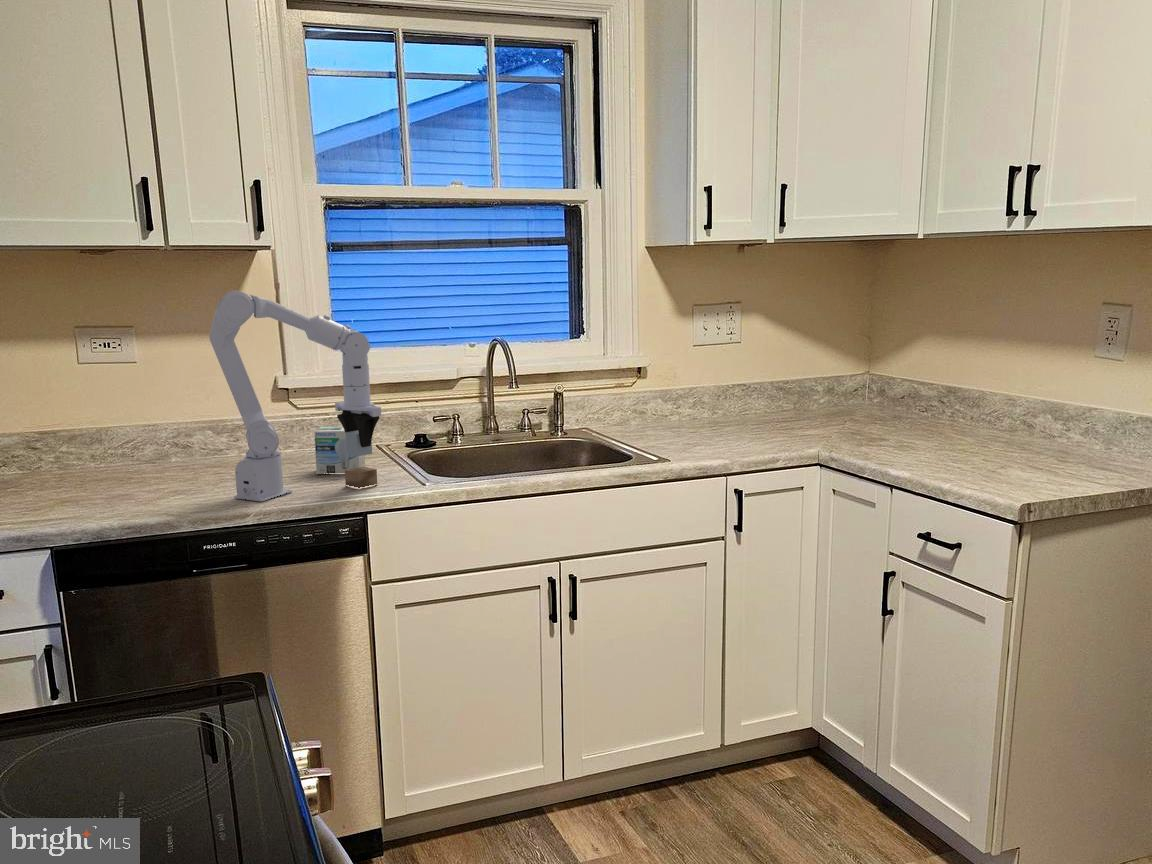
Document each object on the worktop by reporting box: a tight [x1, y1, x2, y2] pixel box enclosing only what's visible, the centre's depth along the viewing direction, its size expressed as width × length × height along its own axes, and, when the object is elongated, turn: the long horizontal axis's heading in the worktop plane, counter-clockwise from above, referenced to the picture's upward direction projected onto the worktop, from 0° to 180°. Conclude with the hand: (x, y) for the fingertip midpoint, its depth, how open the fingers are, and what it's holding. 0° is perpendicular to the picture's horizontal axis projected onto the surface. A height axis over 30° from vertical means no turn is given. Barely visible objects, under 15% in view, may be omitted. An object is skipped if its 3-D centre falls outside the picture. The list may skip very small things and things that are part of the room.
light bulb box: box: [314, 426, 366, 475], centre depth 216 cm, size 11×7×11 cm, turn 92°
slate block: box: [346, 430, 373, 456], centre depth 200 cm, size 4×4×5 cm
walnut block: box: [344, 466, 378, 488], centre depth 201 cm, size 5×5×4 cm
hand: (359, 445), depth 200 cm, fingers closed on slate block, 4 cm apart
